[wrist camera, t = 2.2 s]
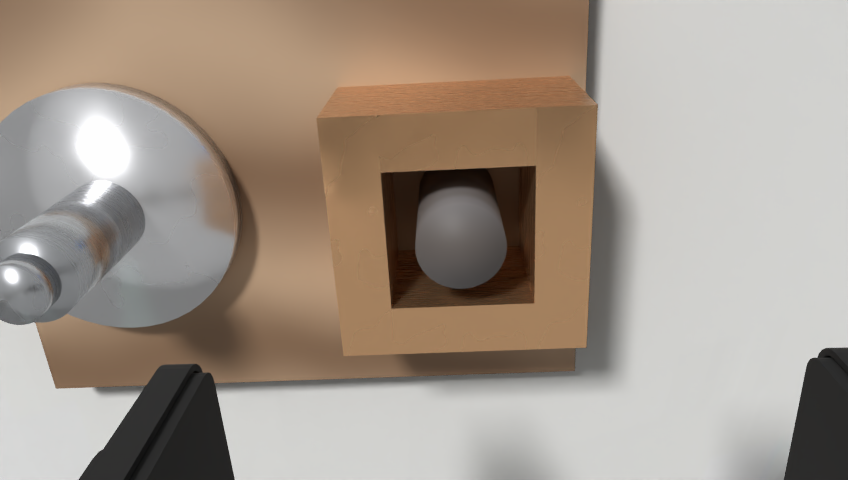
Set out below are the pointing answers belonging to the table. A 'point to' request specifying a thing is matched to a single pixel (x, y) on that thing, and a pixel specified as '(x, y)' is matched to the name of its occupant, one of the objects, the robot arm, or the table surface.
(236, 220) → the steel hub
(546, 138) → the wooden square washer
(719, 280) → the table surface
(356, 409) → the table surface
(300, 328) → the walnut board
